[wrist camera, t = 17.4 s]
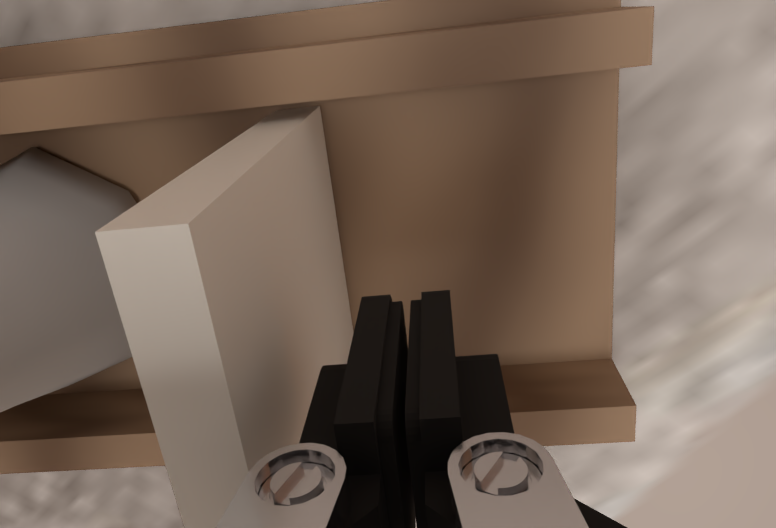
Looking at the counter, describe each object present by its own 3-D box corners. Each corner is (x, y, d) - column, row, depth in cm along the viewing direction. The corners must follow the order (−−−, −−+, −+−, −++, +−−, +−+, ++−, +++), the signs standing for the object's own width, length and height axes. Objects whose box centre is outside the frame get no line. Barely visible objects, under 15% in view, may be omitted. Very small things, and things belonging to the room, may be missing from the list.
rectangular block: (321, 369, 20) (230, 680, 11) (276, 110, 17) (94, 231, 8) (358, 367, 20) (298, 679, 11) (319, 105, 17) (187, 222, 8)
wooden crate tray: (-4, 429, 23) (-139, 562, 18) (-155, 67, 18) (-406, 92, 13) (602, 394, 21) (664, 531, 16) (610, -26, 16) (705, -45, 11)
